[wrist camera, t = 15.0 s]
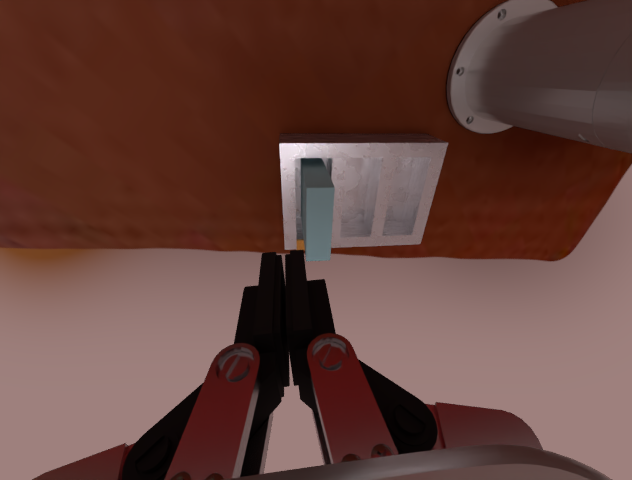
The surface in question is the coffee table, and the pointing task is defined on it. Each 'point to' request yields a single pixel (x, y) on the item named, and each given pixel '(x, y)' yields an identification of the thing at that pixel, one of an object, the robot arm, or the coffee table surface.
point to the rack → (365, 185)
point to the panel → (316, 209)
